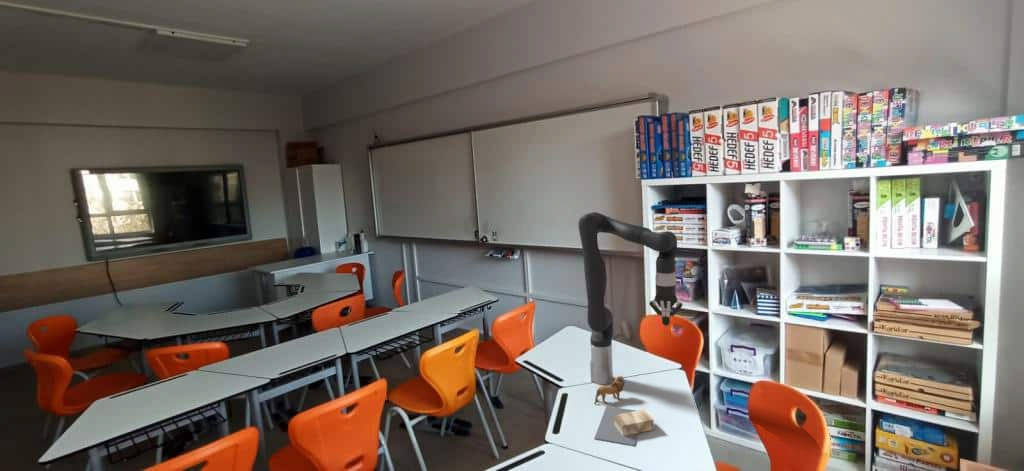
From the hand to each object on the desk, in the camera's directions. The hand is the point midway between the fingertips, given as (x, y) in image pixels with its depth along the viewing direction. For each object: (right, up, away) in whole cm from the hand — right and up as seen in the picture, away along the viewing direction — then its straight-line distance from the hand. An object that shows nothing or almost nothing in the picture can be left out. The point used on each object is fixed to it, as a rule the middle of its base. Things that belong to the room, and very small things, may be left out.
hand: (666, 324), depth 182 cm
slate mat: (-21, -35, -12) cm, 43 cm away
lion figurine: (-21, -32, +7) cm, 39 cm away
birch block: (-11, -32, -13) cm, 36 cm away
